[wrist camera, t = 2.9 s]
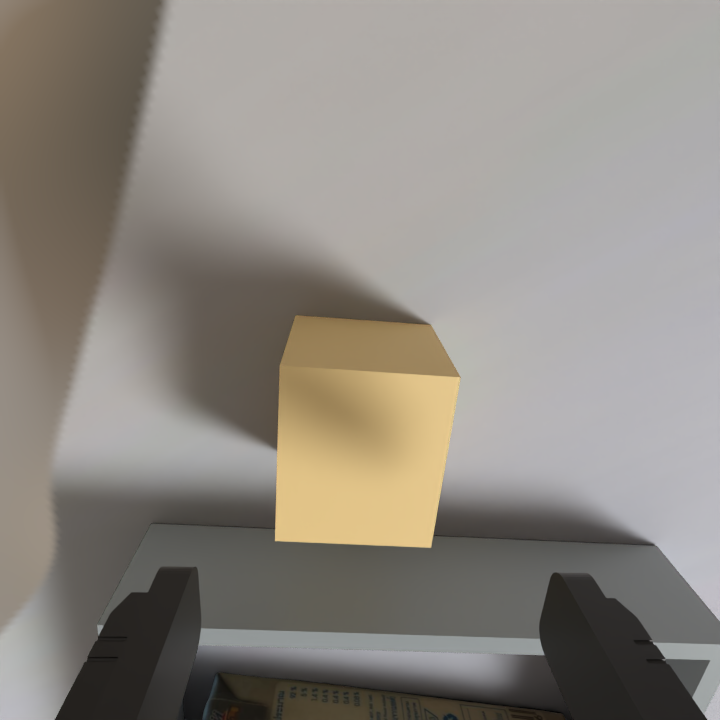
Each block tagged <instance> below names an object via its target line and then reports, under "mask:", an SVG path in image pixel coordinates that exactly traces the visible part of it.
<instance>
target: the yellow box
mask: <svg viewBox="0 0 720 720" xmlns="http://www.w3.org/2000/svg"><path fill="white" fill-rule="evenodd" d="M460 378H461V377H460V376H459V374H458V372H457V370H456V368H455V367H454V365H453V363H452V361H451V360H450V358H449V356H448V354H447V353H446V351H445V349H444V347H443V345H442V344H441V342H440V340H439V338H438V337H437V335H436V333H435V331H434V330H433V328H432V326H431V325H426V324H412V323H398V322H384V321H370V320H356V319H342V318H328V317H314V316H300V315H296V316H295V319H294V322H293V325H292V328H291V331H290V335H289V338H288V341H287V344H286V347H285V350H284V354H283V357H282V360H281V363H280V372H279V409H278V446H277V484H276V521H275V541H285V542H308V543H332V544H355V545H378V546H402V547H425V548H431V545H432V539H433V534H434V528H435V522H436V516H437V510H438V505H439V499H440V493H441V487H442V482H443V476H444V470H445V464H446V458H447V453H448V447H449V441H450V435H451V430H452V424H453V418H454V412H455V406H456V401H457V395H458V389H459V383H460Z"/></svg>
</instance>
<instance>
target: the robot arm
mask: <svg viewBox="0 0 720 720" xmlns="http://www.w3.org/2000/svg"><path fill="white" fill-rule="evenodd" d="M200 633H201V605H200V591H199V577H198V569H197V567H182V566H162V567H160V568H159V570H158V571H157V573H156V576H155V578H154V580H153V582H152V584H151V587H150V589H149V591H148V592H131V593H130V594H129V595H128V596H127V597H126V598H125V599H124V600H123V601H122V602H121V603H120V604H119V605H118V606H117V607H116V608H115V609H114V610H113V611H112V612H111V613H110V615H109V617H108V619H107V621H106V623H105V624H104V626H103V628H102V630H101V632H100V634H99V636H98V641H96V642H95V644H94V646H93V648H92V649H91V651H90V653H89V655H88V659H87V662H85V663H84V665H83V667H82V669H81V671H80V672H79V674H78V676H77V678H76V680H75V682H74V684H73V686H72V688H71V690H70V692H69V694H68V695H67V697H66V699H65V701H64V703H63V705H62V707H61V709H60V711H59V713H58V715H57V717H56V719H55V720H177V717H178V714H179V710H180V707H181V704H182V700H183V697H184V693H185V690H186V687H187V683H188V680H189V676H190V673H191V670H192V666H193V663H194V660H195V656H196V653H197V649H198V645H199V640H200ZM539 635H540V641H541V646H542V649H543V652H544V655H545V657H546V659H547V661H548V664H549V666H550V668H551V671H552V673H553V675H554V677H555V680H556V682H557V684H558V687H559V689H560V691H561V693H562V696H563V698H564V700H565V703H566V705H567V707H568V709H569V712H570V714H571V716H572V719H573V720H707V719H706V717H705V716H704V714H703V713H702V711H701V710H700V708H699V707H698V705H697V704H696V703H695V701H694V700H693V698H692V697H691V695H690V694H689V692H688V691H687V689H686V688H685V686H684V685H683V684H682V682H681V681H680V679H679V678H678V676H677V675H676V673H675V672H674V670H673V669H672V668H671V666H670V665H669V664H667V663H666V659H665V657H664V656H663V654H662V653H661V651H660V650H659V649H658V647H657V646H656V645H654V644H653V640H652V638H651V637H650V635H649V634H648V632H647V631H646V630H645V628H644V627H643V625H642V624H641V622H640V621H639V619H638V618H637V617H636V616H635V615H634V614H633V613H632V612H630V611H629V610H628V609H627V608H626V607H625V606H624V605H622V604H621V603H620V602H619V601H618V600H617V599H616V598H606V597H605V595H604V594H603V592H602V591H601V589H600V587H599V586H598V584H597V583H596V581H595V580H594V578H593V577H592V576H591V575H590V574H588V573H565V572H555V573H553V574H552V575H551V577H550V581H549V585H548V589H547V593H546V597H545V601H544V605H543V609H542V613H541V618H540V622H539Z"/></svg>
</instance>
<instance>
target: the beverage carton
mask: <svg viewBox="0 0 720 720" xmlns="http://www.w3.org/2000/svg"><path fill="white" fill-rule="evenodd" d="M202 720H565V717H564V715H563V714H562V713H554V712H548V711H542V710H534V709H524V708H516V707H508V706H499V705H491V704H483V703H475V702H467V701H458V700H450V699H443V698H435V697H427V696H419V695H412V694H404V693H397V692H389V691H381V690H372V689H364V688H356V687H348V686H340V685H332V684H325V683H313V682H306V681H298V680H288V679H276V678H263V677H255V676H246V675H236V674H229V673H221V672H219V673H217V674H216V675H215V679H214V682H213V686H212V689H211V692H210V697H209V700H208V702H207V703H206V706H205V709H204V712H203V719H202Z"/></svg>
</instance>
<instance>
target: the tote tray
mask: <svg viewBox="0 0 720 720" xmlns="http://www.w3.org/2000/svg"><path fill="white" fill-rule="evenodd" d="M162 566H182V567H197V569H198V577H199V591H200V605H201V633H200V640H199V645H208V646H243V647H277V648H311V649H346V650H380V651H414V652H448V653H483V654H517V655H544V652H543V649H542V646H541V641H540V635H539V622H540V618H541V613H542V609H543V605H544V601H545V597H546V593H547V589H548V585H549V581H550V577H551V575H552V574H553V573H555V572H565V573H588V574H590V575H591V576H592V577H593V578H594V580H595V581H596V583H597V584H598V586H599V587H600V589H601V591H602V592H603V594H604V595H605V597H606V598H616V599H617V600H618V601H619V602H620V603H621V604H622V605H624V606H625V607H626V608H627V609H628V610H629V611H630V612H632V613H633V614H634V615H635V616H636V617H637V618H638V619H639V621H640V622H641V624H642V625H643V627H644V628H645V630H646V631H647V632H648V634H649V635H650V637H651V638H652V640H653V644H654V645H656V646H657V647H658V649H659V650H660V651H661V653H662V654H663V656H664V657H665V659H666V663H667V664H669V665H670V666H671V668H672V669H673V670H674V672H675V673H676V675H677V676H678V678H679V679H680V681H681V682H682V684H683V685H684V686H685V688H686V689H687V691H688V692H689V694H690V695H691V697H692V698H693V700H694V701H695V703H696V704H697V705H698V707H699V708H700V710H701V711H702V713H703V714H704V713H705V711H706V709H707V707H708V705H709V703H710V701H711V700H712V698H713V696H714V694H715V692H716V690H717V688H718V686H719V684H720V621H719V620H718V619H717V618H716V617H715V615H714V614H713V613H712V612H711V611H710V609H709V608H708V607H707V606H706V605H705V603H704V602H703V601H702V600H701V599H700V597H699V596H698V595H697V594H696V593H695V591H694V590H693V589H692V588H691V587H690V585H689V584H688V583H687V582H686V581H685V579H684V578H683V577H682V576H681V575H680V573H679V572H678V571H677V570H676V569H675V567H674V566H673V565H672V564H671V563H670V561H669V560H668V559H667V558H666V556H665V555H664V554H663V553H662V552H661V550H660V549H659V548H658V547H657V546H649V545H627V544H604V543H581V542H559V541H536V540H514V539H491V538H468V537H446V536H433V539H432V545H431V548H425V547H402V546H378V545H355V544H332V543H308V542H285V541H275V529H265V528H242V527H219V526H197V525H174V524H152V523H151V525H150V527H149V529H148V531H147V532H146V534H145V536H144V538H143V540H142V542H141V544H140V546H139V547H138V549H137V551H136V553H135V555H134V557H133V559H132V560H131V562H130V564H129V566H128V568H127V570H126V572H125V574H124V575H123V577H122V579H121V581H120V583H119V585H118V587H117V588H116V590H115V592H114V594H113V596H112V598H111V600H110V601H109V603H108V605H107V607H106V609H105V611H104V613H103V615H102V616H101V618H100V620H99V622H98V624H97V629H98V636H99V634H100V632H101V630H102V628H103V626H104V624H105V623H106V621H107V619H108V617H109V615H110V613H111V612H112V611H113V610H114V609H115V608H116V607H117V606H118V605H119V604H120V603H121V602H122V601H123V600H124V599H125V598H126V597H127V596H128V595H129V594H130V593H131V592H148V591H149V589H150V587H151V584H152V582H153V580H154V578H155V576H156V573H157V571H158V570H159V568H160V567H162ZM177 720H184V713H183V700H182V704H181V707H180V710H179V714H178V717H177Z"/></svg>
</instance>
